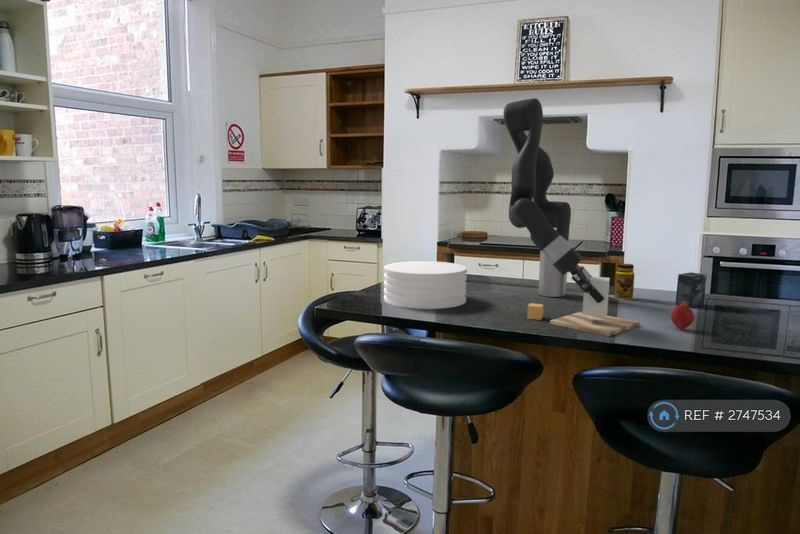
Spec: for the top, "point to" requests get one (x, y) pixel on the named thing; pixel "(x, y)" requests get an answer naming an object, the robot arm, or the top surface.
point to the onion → (682, 316)
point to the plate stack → (425, 284)
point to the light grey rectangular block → (590, 304)
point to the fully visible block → (535, 311)
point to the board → (595, 323)
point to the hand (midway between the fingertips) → (602, 298)
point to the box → (691, 289)
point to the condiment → (624, 282)
